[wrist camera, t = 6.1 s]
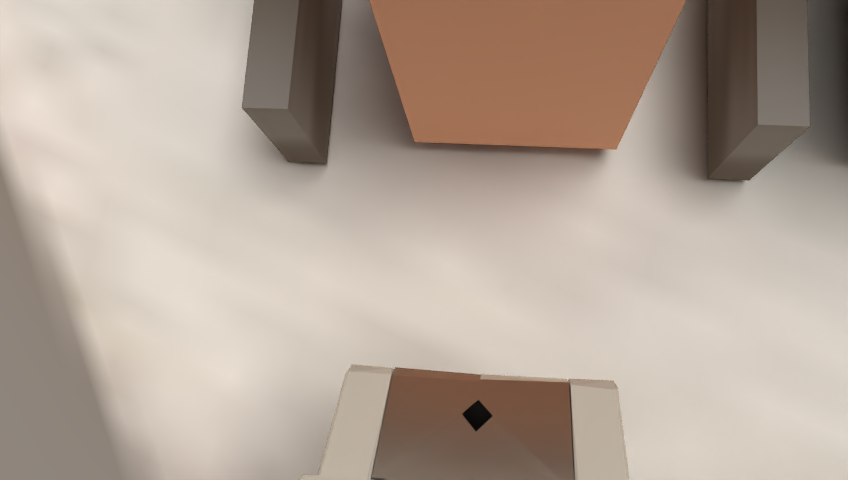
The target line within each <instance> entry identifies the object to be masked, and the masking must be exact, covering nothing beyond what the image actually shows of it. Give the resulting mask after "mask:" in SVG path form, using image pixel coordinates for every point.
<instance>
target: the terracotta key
mask: <svg viewBox="0 0 848 480" xmlns="http://www.w3.org/2000/svg"><path fill="white" fill-rule="evenodd" d="M369 1H370V4H371V7H372V10H373V13H374V16H375V20H376V23H377V26H378V29H379V32H380V35H381V38H382V41H383V45H384V48H385V51H386V54H387V57H388V60H389V63H390V67H391V70H392V73H393V76H394V79H395V82H396V85H397V88H398V92H399V95H400V98H401V101H402V104H403V107H404V110H405V114H406V117H407V120H408V123H409V126H410V129H411V132H412V135H413V139H414V142H429V143H456V144H484V145H511V146H538V147H565V148H592V149H617V147H618V145H619V143H620V140H621V138H622V136H623V134H624V132H625V130H626V128H627V125H628V123H629V121H630V119H631V117H632V115H633V113H634V111H635V108H636V106H637V104H638V102H639V100H640V98H641V96H642V93H643V91H644V89H645V87H646V85H647V83H648V81H649V79H650V76H651V74H652V72H653V70H654V68H655V66H656V64H657V61H658V59H659V57H660V55H661V53H662V51H663V49H664V47H665V44H666V42H667V40H668V38H669V36H670V34H671V32H672V29H673V27H674V25H675V23H676V21H677V19H678V17H679V15H680V12H681V10H682V8H683V6H684V4H685V2H686V0H369Z"/></svg>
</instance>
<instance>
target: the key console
mask: <svg viewBox="0 0 848 480" xmlns="http://www.w3.org/2000/svg"><path fill="white" fill-rule="evenodd" d="M341 3H342V0H254V7H253V15H252V24H251V33H250V42H249V50H248V59H247V68H246V76H245V85H244V94H243V102H242V108H243V109H244V111H245V112H246V113H247V114H248V115H249V116H250V117H251V119H252V120H253V121H254V122H255V123H256V124H257V126H258V127H259V128H260V129H261V130H262V131H263V132H264V134H265V135H266V136H267V137H268V138H269V139H270V141H271V142H272V143H273V144H274V145H275V146H276V147H277V149H278V150H279V151H280V152H281V153H282V154H283V155H284V157H285V158H286V159H287V160H288V161H289V162H307V163H327V153H328V143H329V132H330V121H331V110H332V100H333V89H334V78H335V67H336V57H337V46H338V35H339V25H340V14H341ZM809 127H810V106H809V65H808V23H807V0H708V179H733V180H750V179H751V178H752V177H753V176H754V175H756V174H757V173H758V172H759V171H760V170H761V169H762V168H764V167H765V166H766V165H767V164H768V163H769V162H770V161H771V160H773V159H774V158H775V157H776V156H777V155H778V154H779V153H781V152H782V151H783V150H784V149H785V148H786V147H787V146H788V145H790V144H791V143H792V142H793V141H794V140H795V139H796V138H797V137H799V136H800V135H801V134H802V133H803V132H804V131H805V130H807V129H808V128H809Z"/></svg>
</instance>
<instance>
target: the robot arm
mask: <svg viewBox="0 0 848 480" xmlns="http://www.w3.org/2000/svg"><path fill="white" fill-rule="evenodd" d="M299 480H629V472H628V464H627V457H626V449H625V441H624V433H623V425H622V418H621V410H620V402H619V394H618V387H617V386H616V384H615V383H614V381H606V380H585V379H569V380H567V379H556V378H538V377H519V376H501V375H482V374H481V375H478V374H466V373H454V372H443V371H431V370H419V369H408V368H396V367H395V369H394V368H384V367H373V366H362V365H351V367H350V368H349V370H348V371H347V373H346V374H345V378H344V382H343V385H342V389H341V393H340V396H339V400H338V404H337V407H336V411H335V414H334V418H333V422H332V425H331V429H330V433H329V436H328V440H327V443H326V447H325V451H324V454H323V458H322V462H321V465H320V469H319V472H318V475H303V476H302V477H301V478H300V479H299Z"/></svg>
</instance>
